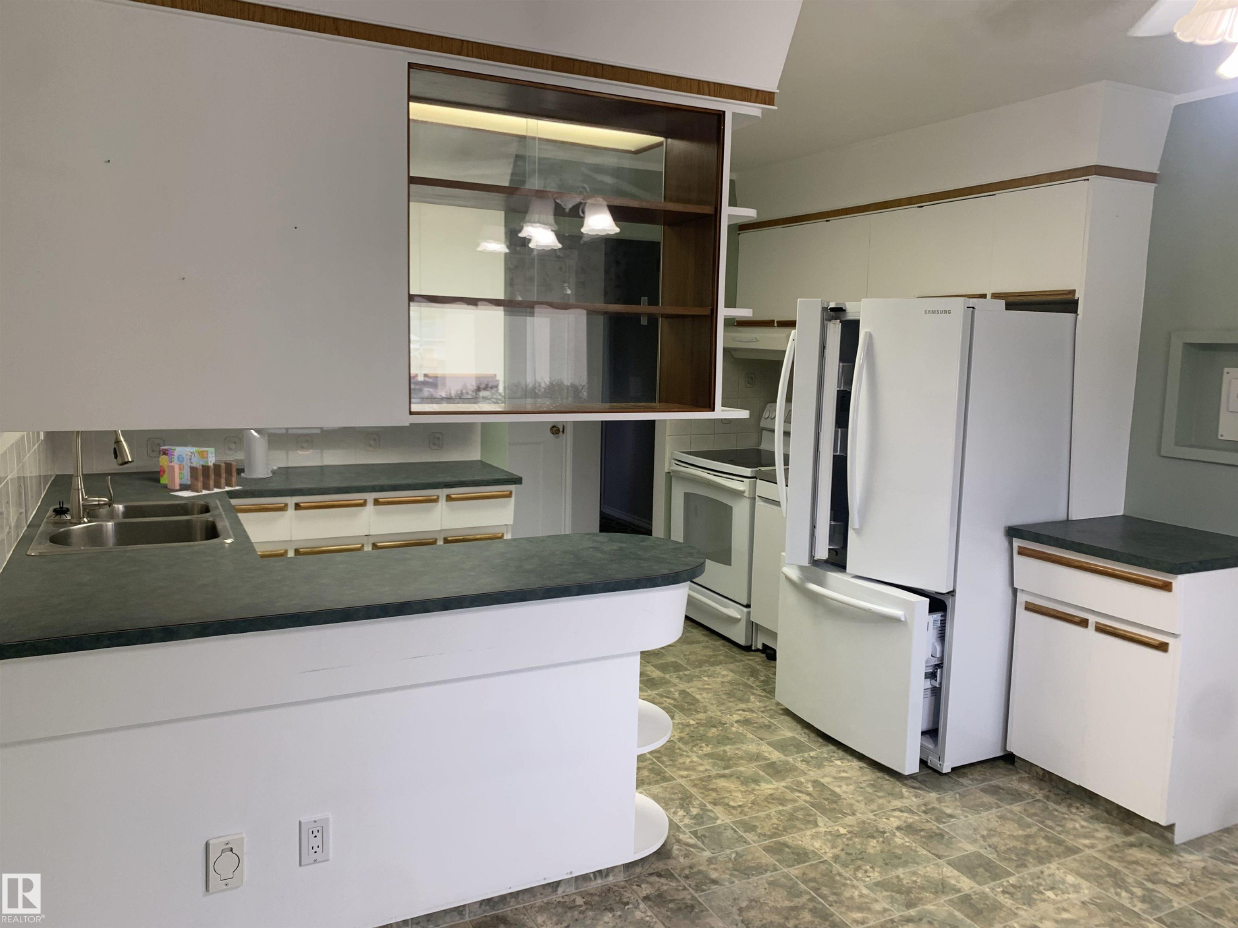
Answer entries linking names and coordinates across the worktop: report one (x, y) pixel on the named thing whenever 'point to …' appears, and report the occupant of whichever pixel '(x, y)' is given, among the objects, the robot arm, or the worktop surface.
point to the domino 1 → (173, 476)
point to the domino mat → (189, 493)
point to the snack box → (184, 460)
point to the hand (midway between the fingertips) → (191, 405)
